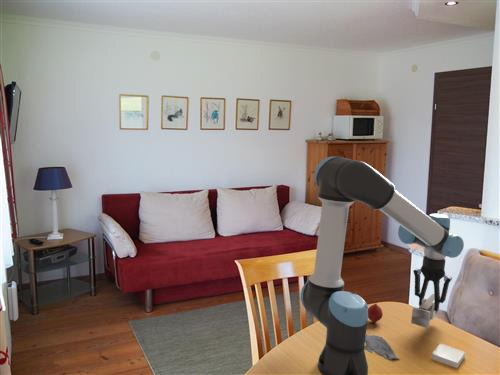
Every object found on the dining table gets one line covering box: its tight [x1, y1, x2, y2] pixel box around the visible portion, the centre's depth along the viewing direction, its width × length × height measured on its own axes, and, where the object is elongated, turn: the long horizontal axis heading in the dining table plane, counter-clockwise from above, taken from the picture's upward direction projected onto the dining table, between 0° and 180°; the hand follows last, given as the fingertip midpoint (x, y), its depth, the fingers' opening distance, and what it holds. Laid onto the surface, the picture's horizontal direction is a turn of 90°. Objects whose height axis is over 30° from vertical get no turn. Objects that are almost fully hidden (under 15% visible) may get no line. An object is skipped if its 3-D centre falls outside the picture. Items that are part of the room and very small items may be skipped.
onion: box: [368, 302, 384, 324], centre depth 171 cm, size 6×6×8 cm
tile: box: [431, 343, 466, 369], centre depth 149 cm, size 8×2×9 cm
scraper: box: [411, 293, 441, 329], centre depth 167 cm, size 6×18×6 cm, turn 141°
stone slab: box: [364, 334, 400, 361], centre depth 154 cm, size 18×2×10 cm
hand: (427, 316), depth 167 cm, fingers closed on scraper, 3 cm apart
